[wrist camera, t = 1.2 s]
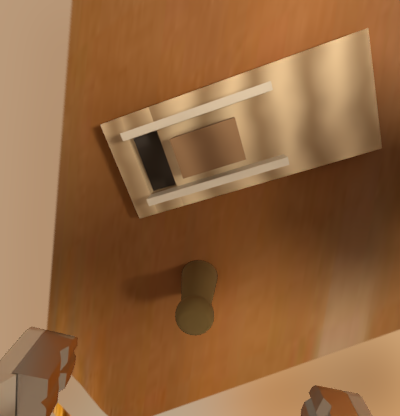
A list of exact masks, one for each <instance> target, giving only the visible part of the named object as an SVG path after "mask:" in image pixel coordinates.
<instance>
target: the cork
mask: <svg viewBox="0 0 400 416" xmlns="http://www.w3.org/2000/svg"><path fill="white" fill-rule="evenodd" d="M217 277H218V275H217V271H216V269H215V268H214V266H213V265H211V264H210V263H208V262H206V261H202V260H196V261H192V262H190V263H188V264H187V265H186V266H185V267H184V268H183V270H182V288H181V302H180V303H179V304H178V306H177V309H176V312H175V318H176V322H177V325H178V326H179V328H180V329H181V330H182V331H183V332H185V333H187V334H190V335H201V334H203V333H205V332H206V331H207V330H208V329H210V328H211V326H212V324H213V321H214V311H213V307H212V305H211V304H212V300H213V295H214V291H215V287H216V283H217Z"/></svg>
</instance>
